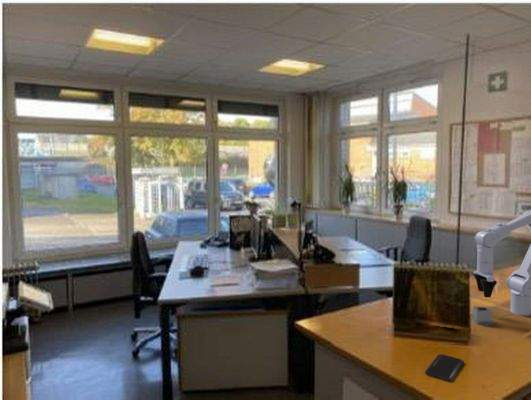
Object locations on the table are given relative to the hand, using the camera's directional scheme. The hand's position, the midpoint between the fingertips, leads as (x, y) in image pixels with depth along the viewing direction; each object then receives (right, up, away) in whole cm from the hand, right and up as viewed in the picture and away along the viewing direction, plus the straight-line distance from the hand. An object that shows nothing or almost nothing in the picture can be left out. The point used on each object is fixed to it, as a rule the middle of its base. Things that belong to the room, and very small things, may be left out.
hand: (484, 294), depth 167 cm
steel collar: (-4, -10, -5) cm, 11 cm away
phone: (-33, -15, -39) cm, 53 cm away
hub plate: (-4, -11, -5) cm, 12 cm away
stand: (0, -10, +3) cm, 10 cm away
